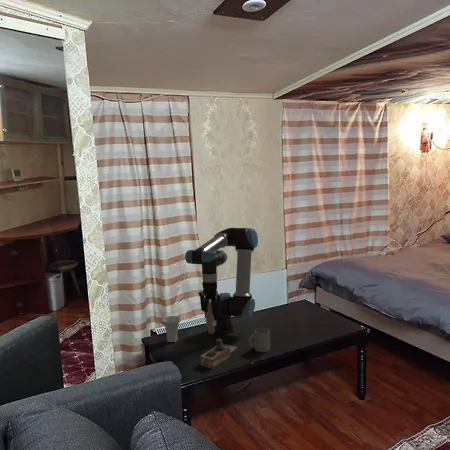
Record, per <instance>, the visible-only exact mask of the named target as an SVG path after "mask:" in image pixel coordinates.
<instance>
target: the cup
mask: <svg viewBox="0 0 450 450" xmlns="http://www.w3.org/2000/svg"><path fill="white" fill-rule="evenodd" d="M180 321H181V317H179V316H176V315H170V316H169V315H168V316H166V317H164V318H162V324H163V326H164V328H165V331H166V337H167V338H166V342H167V341H168V342H175V343H177V342H178V341H179V339H178V331H179V325H180ZM177 340H178V341H177ZM176 341H177V342H176ZM168 342H167V343H168Z"/></svg>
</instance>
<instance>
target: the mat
mask: <svg viewBox="0 0 450 450" xmlns="http://www.w3.org/2000/svg"><path fill="white" fill-rule="evenodd" d="M222 346H225V347H229V348H230V354H231V353H232V352H233V351H235V350H236V349H238V348H239V347H237V346H234V345H230V344H225V343H222Z"/></svg>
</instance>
